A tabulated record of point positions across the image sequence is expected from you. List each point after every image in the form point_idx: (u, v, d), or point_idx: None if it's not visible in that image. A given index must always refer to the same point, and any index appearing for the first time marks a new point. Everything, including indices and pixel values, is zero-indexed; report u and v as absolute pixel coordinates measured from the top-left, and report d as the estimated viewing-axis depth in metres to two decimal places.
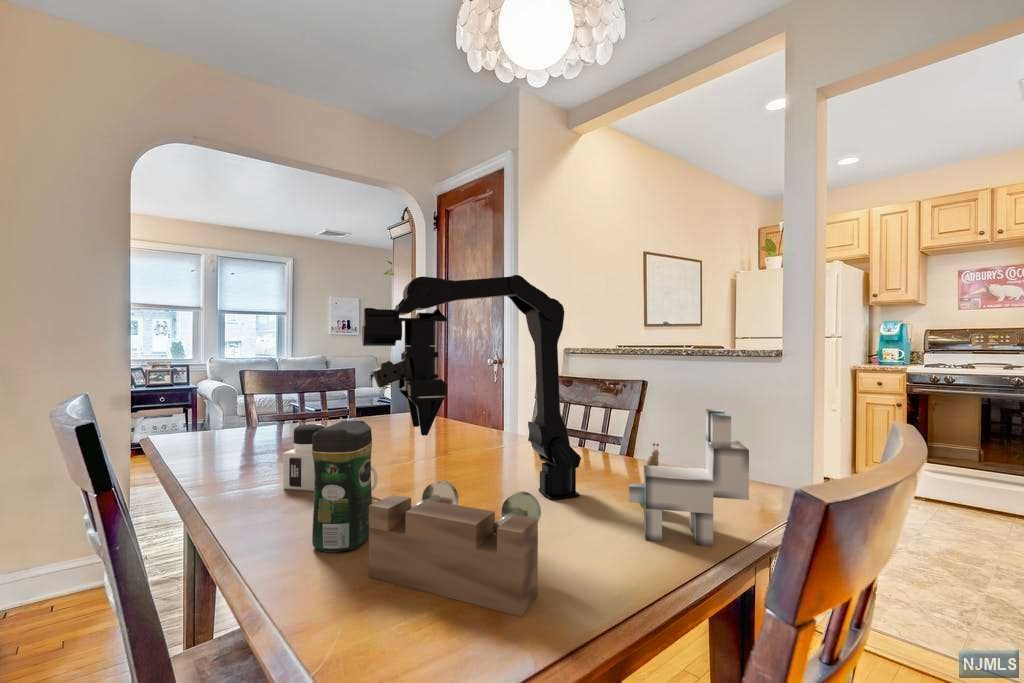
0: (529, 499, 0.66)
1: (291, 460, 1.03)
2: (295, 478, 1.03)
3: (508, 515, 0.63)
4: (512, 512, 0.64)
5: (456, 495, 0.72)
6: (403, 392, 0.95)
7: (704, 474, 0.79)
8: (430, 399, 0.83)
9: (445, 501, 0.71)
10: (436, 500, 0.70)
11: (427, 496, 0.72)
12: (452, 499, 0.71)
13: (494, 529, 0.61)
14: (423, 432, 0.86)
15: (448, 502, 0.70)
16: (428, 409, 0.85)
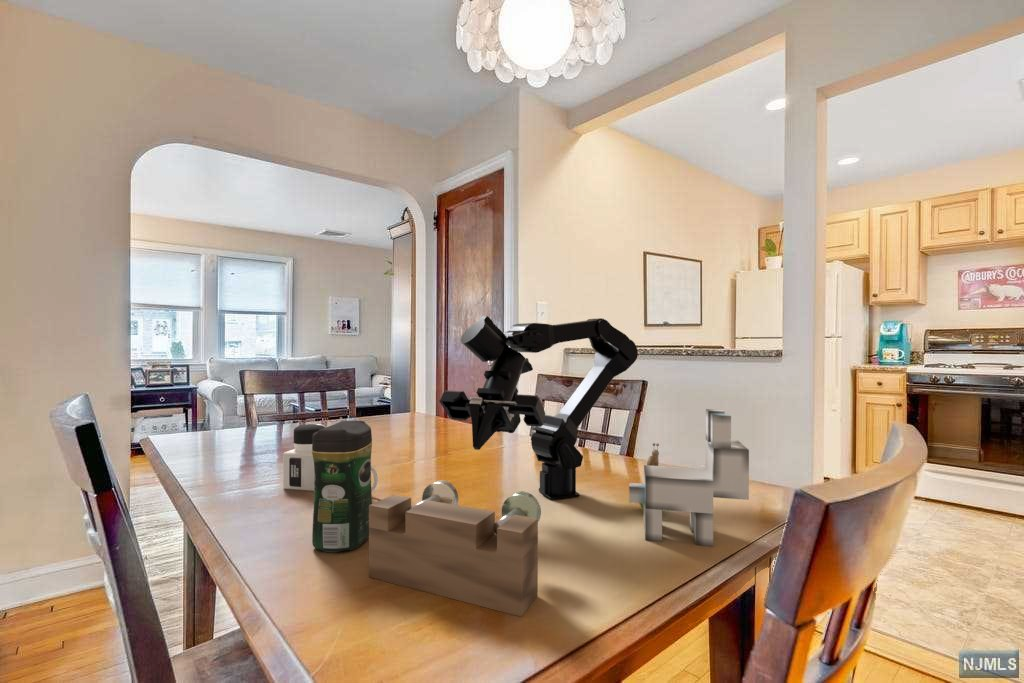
0: (529, 499, 0.66)
1: (291, 460, 1.03)
2: (295, 478, 1.03)
3: (508, 515, 0.63)
4: (512, 512, 0.64)
5: (456, 495, 0.72)
6: None
7: (704, 474, 0.79)
8: (469, 413, 0.87)
9: (445, 501, 0.71)
10: (436, 500, 0.70)
11: (427, 496, 0.72)
12: (452, 499, 0.71)
13: (494, 529, 0.61)
14: None
15: (448, 502, 0.70)
16: None
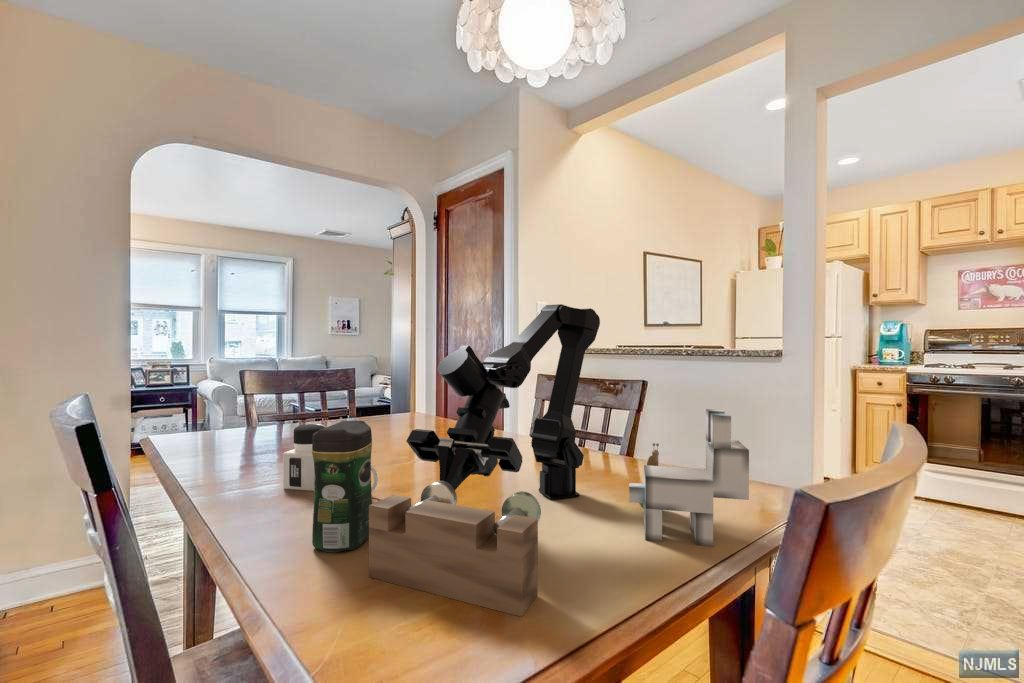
0: (529, 499, 0.66)
1: (291, 460, 1.03)
2: (295, 478, 1.03)
3: (508, 515, 0.63)
4: (512, 512, 0.64)
5: (455, 496, 0.71)
6: None
7: (704, 474, 0.79)
8: None
9: (444, 502, 0.70)
10: None
11: (425, 497, 0.72)
12: (451, 500, 0.70)
13: (494, 529, 0.61)
14: None
15: (447, 503, 0.70)
16: None
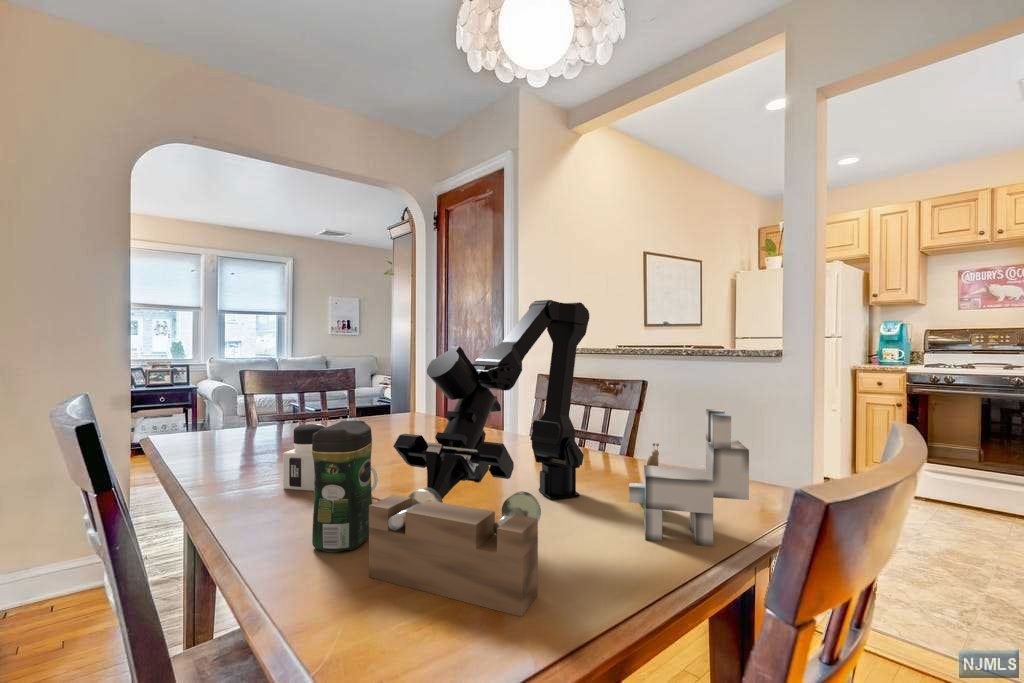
0: (529, 499, 0.66)
1: (291, 460, 1.03)
2: (295, 478, 1.03)
3: (508, 515, 0.63)
4: (512, 512, 0.64)
5: None
6: None
7: (704, 474, 0.79)
8: None
9: None
10: None
11: None
12: None
13: (494, 529, 0.61)
14: None
15: None
16: None
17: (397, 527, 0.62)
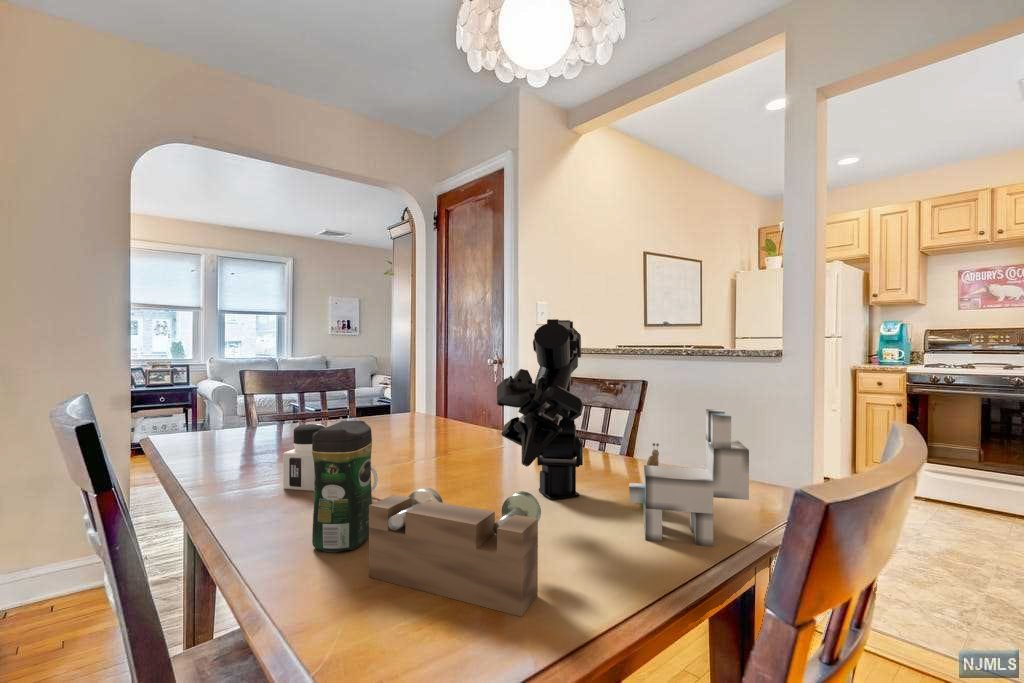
0: (529, 499, 0.66)
1: (291, 460, 1.03)
2: (295, 478, 1.03)
3: (508, 515, 0.63)
4: (512, 512, 0.64)
5: None
6: (522, 423, 0.81)
7: (704, 474, 0.79)
8: (549, 422, 0.78)
9: None
10: None
11: None
12: None
13: (494, 529, 0.61)
14: (526, 459, 0.77)
15: None
16: (539, 437, 0.78)
17: (397, 527, 0.62)
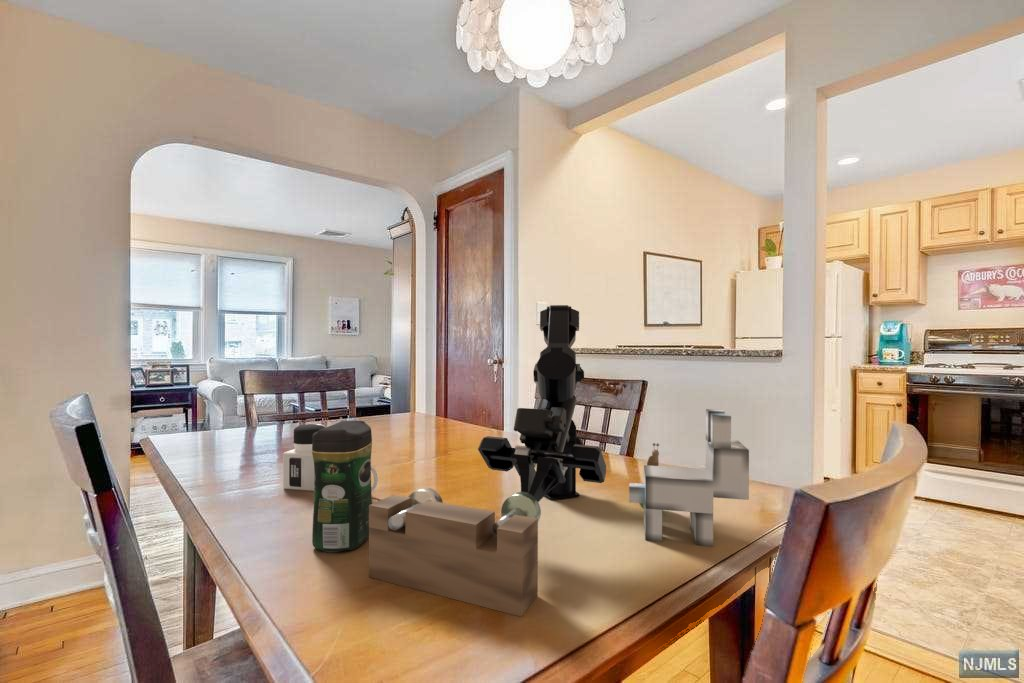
0: (529, 499, 0.66)
1: (291, 460, 1.03)
2: (295, 478, 1.03)
3: (508, 515, 0.63)
4: (512, 512, 0.64)
5: None
6: (529, 459, 0.71)
7: (704, 474, 0.79)
8: (561, 473, 0.71)
9: None
10: None
11: None
12: None
13: (494, 529, 0.61)
14: None
15: None
16: (543, 483, 0.71)
17: (397, 527, 0.62)
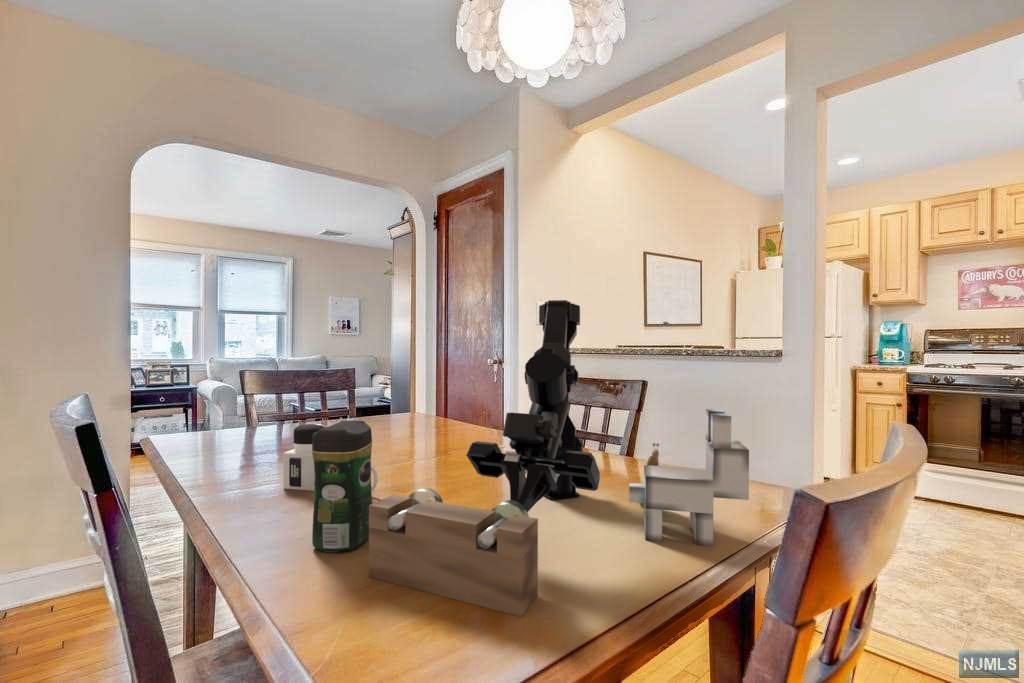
0: (517, 508, 0.62)
1: (291, 460, 1.03)
2: (295, 478, 1.03)
3: (494, 526, 0.59)
4: (498, 522, 0.60)
5: None
6: (519, 466, 0.68)
7: (704, 474, 0.79)
8: (553, 480, 0.68)
9: None
10: None
11: None
12: None
13: (479, 541, 0.57)
14: None
15: None
16: (534, 491, 0.68)
17: (397, 527, 0.62)
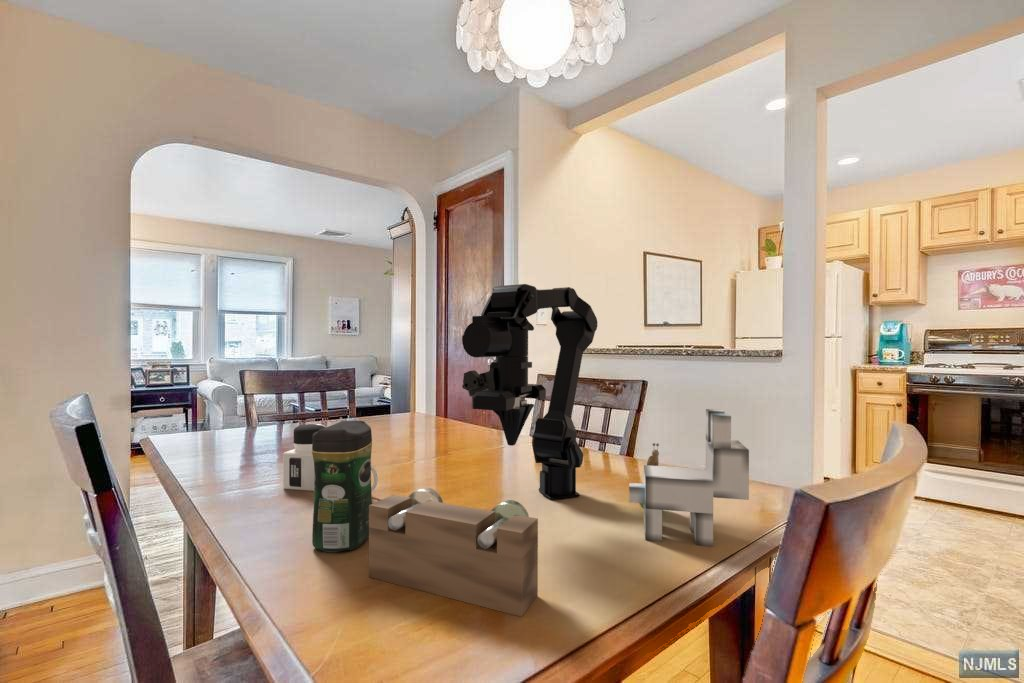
0: (517, 508, 0.62)
1: (291, 460, 1.03)
2: (295, 478, 1.03)
3: (494, 526, 0.59)
4: (498, 522, 0.60)
5: None
6: None
7: (704, 474, 0.79)
8: None
9: None
10: None
11: None
12: None
13: (479, 541, 0.57)
14: (508, 442, 0.86)
15: None
16: (510, 419, 0.85)
17: (397, 527, 0.62)
